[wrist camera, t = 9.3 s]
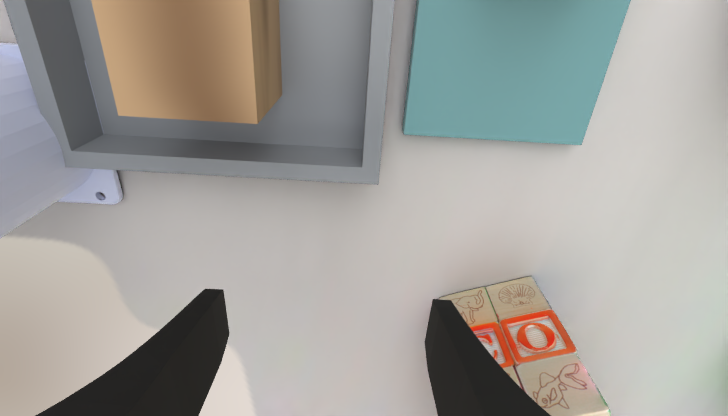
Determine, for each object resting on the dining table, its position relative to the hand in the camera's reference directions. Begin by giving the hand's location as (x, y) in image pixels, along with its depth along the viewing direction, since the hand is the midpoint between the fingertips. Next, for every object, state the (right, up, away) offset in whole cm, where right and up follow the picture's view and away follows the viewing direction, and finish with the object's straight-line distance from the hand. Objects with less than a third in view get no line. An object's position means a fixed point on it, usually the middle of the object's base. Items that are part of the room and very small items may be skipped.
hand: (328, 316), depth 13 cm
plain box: (-5, +12, +4) cm, 13 cm away
